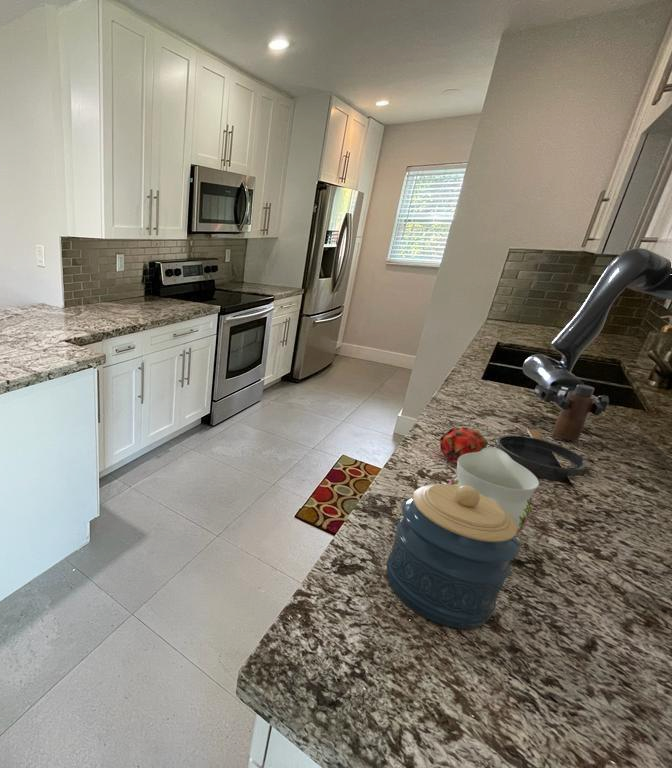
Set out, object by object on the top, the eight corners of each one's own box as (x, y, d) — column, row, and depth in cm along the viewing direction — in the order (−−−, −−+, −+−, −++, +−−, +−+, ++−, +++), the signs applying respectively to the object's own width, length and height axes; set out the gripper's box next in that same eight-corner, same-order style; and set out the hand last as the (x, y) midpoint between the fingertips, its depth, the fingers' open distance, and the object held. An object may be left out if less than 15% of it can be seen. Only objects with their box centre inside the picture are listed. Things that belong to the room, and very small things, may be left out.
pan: (568, 459, 95) (573, 445, 94) (590, 492, 83) (597, 477, 82) (487, 442, 103) (492, 429, 101) (497, 470, 90) (502, 456, 89)
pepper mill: (574, 434, 101) (596, 385, 97) (581, 442, 97) (603, 392, 93) (549, 429, 104) (569, 381, 99) (554, 437, 100) (575, 387, 95)
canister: (514, 619, 55) (563, 510, 49) (440, 643, 51) (482, 530, 45) (429, 550, 66) (460, 456, 60) (364, 566, 63) (389, 467, 57)
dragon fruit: (470, 459, 97) (448, 482, 91) (442, 430, 100) (419, 450, 94) (503, 443, 91) (482, 467, 84) (473, 413, 94) (450, 434, 87)
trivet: (585, 442, 103) (587, 439, 103) (603, 464, 94) (605, 460, 93) (525, 431, 109) (526, 427, 109) (535, 450, 99) (537, 446, 99)
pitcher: (430, 557, 65) (454, 484, 60) (437, 501, 79) (457, 438, 74) (519, 591, 59) (553, 513, 54) (509, 524, 73) (536, 457, 68)
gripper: (531, 368, 111) (547, 387, 97) (603, 378, 104) (632, 400, 90) (522, 393, 114) (536, 415, 100) (592, 405, 107) (617, 430, 93)
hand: (581, 408), depth 95 cm, fingers closed on pepper mill, 5 cm apart
